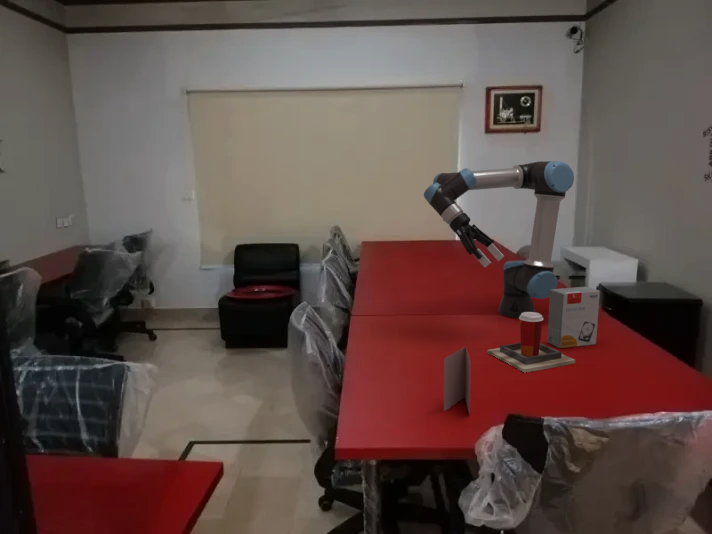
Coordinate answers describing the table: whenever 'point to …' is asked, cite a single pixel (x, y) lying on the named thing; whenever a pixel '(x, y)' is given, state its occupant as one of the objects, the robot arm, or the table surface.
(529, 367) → the seat plate
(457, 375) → the greeting card
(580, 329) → the hard drive box
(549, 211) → the robot arm
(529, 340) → the paper cup
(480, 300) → the table surface
